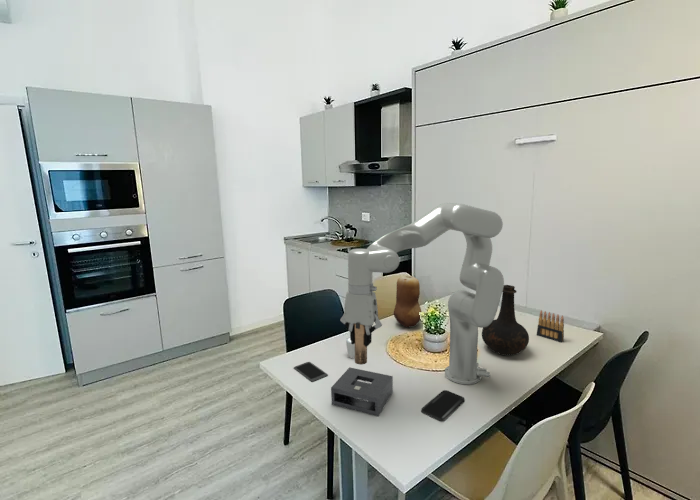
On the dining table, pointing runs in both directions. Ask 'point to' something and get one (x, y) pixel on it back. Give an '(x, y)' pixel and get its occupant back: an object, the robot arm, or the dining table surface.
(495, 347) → the glass bottle
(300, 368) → the cell phone
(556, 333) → the ammunition clip
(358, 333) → the brown long cylinder
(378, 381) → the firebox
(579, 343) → the dining table surface
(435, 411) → the phone
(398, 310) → the butternut squash
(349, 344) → the white cylinder
